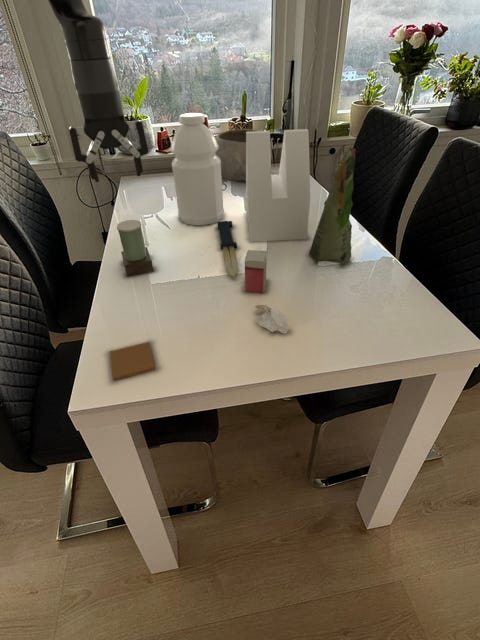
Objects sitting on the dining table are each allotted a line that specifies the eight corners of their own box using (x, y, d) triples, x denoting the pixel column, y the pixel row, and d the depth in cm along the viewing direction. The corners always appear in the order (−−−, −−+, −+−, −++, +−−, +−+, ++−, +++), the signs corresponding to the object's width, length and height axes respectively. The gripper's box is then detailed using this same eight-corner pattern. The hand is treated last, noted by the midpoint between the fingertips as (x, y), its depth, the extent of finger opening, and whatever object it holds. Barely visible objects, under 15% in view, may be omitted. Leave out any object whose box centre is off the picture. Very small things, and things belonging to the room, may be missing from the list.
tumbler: (125, 263, 88) (117, 231, 83) (123, 253, 92) (115, 222, 87) (149, 258, 89) (142, 227, 84) (145, 248, 93) (139, 218, 88)
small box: (248, 280, 86) (247, 249, 81) (266, 281, 85) (267, 250, 80) (244, 292, 82) (243, 260, 77) (264, 293, 81) (264, 261, 76)
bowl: (219, 189, 135) (216, 144, 125) (207, 171, 152) (204, 130, 143) (280, 181, 139) (281, 137, 130) (261, 164, 156) (261, 125, 147)
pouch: (338, 243, 98) (352, 141, 83) (364, 264, 90) (385, 154, 74) (299, 251, 96) (307, 147, 80) (322, 273, 87) (336, 161, 71)
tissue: (280, 308, 77) (280, 293, 74) (289, 333, 70) (290, 317, 68) (253, 311, 76) (253, 296, 74) (260, 337, 70) (260, 321, 68)
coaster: (113, 380, 62) (113, 378, 62) (110, 353, 68) (109, 351, 67) (155, 369, 64) (154, 366, 64) (149, 344, 69) (148, 341, 69)
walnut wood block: (127, 276, 89) (124, 265, 87) (123, 262, 94) (121, 251, 92) (153, 271, 90) (151, 260, 88) (149, 257, 96) (146, 246, 94)
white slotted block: (246, 213, 116) (244, 124, 101) (296, 211, 116) (301, 122, 101) (250, 241, 101) (248, 141, 86) (306, 239, 101) (315, 138, 86)
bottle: (233, 215, 115) (228, 113, 98) (200, 230, 108) (189, 122, 90) (202, 204, 123) (193, 108, 106) (169, 218, 115) (153, 116, 98)
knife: (231, 220, 109) (243, 273, 85) (232, 225, 110) (243, 279, 86) (217, 221, 108) (225, 274, 85) (217, 226, 109) (225, 280, 86)
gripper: (133, 83, 73) (149, 168, 84) (57, 89, 70) (82, 177, 80) (139, 87, 68) (154, 178, 78) (55, 94, 64) (83, 188, 74)
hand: (118, 178), depth 79 cm, fingers open, 8 cm apart
